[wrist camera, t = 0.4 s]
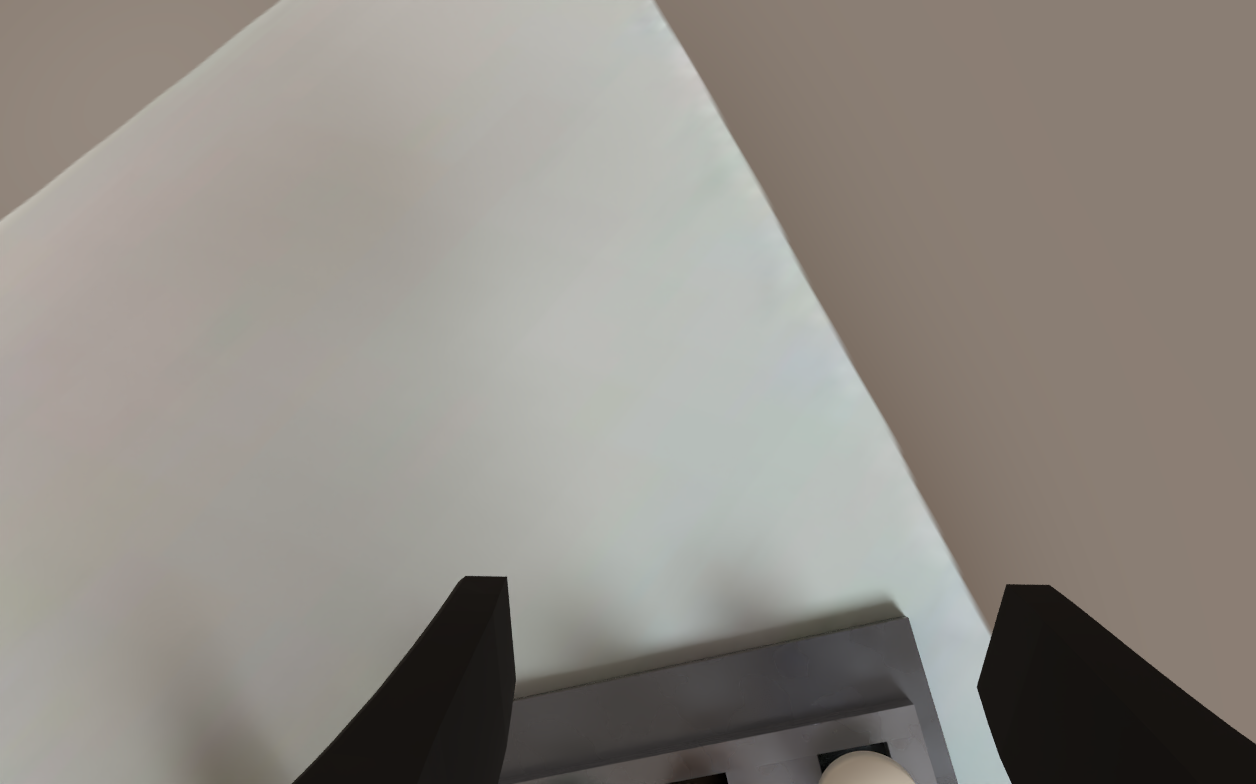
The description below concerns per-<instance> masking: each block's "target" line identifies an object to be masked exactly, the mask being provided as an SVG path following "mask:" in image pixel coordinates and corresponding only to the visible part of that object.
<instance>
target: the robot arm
mask: <svg viewBox="0 0 1256 784" xmlns="http://www.w3.org/2000/svg"><path fill="white" fill-rule="evenodd" d="M515 682H516V675H515V663H514V652H513V640H512V629H511V617H510V606H509V595H508V583H507V577H492V576H465V577H464V578H463V579H461V580H460V581H459V582H458V583H457V585H456V586H455V588H454V589H453V591H452V592H451V594H450V595H449V597H448V598H447V600H446V601H445V603H444V604H443V605H442V607H441V608H440V610H439V611H438V613H437V614H436V615H435V617H434V618H433V619H432V621H431V622H430V624H429V625H428V626H427V628H426V629H425V630H424V632H423V633H422V634H421V636H420V637H419V638H418V640H417V641H416V642H415V644H414V645H413V646H412V648H411V649H410V650H409V652H408V653H407V654H406V655H405V657H404V658H403V659H402V660H401V662H400V663H399V664H398V665H397V667H396V668H395V669H394V670H393V672H392V673H391V674H390V675H389V677H388V678H387V679H386V681H385V682H384V683H383V684H382V686H381V687H380V688H379V689H378V690H377V692H376V693H375V694H374V695H373V696H372V697H371V699H370V700H369V701H368V702H367V703H366V704H365V705H364V707H363V708H362V709H361V710H360V711H359V712H358V713H357V715H356V716H355V717H354V718H353V719H352V720H351V721H350V722H349V724H348V725H347V726H346V727H345V728H344V729H343V730H342V732H341V733H340V734H339V735H338V736H337V737H336V738H335V739H334V741H333V742H332V743H331V744H330V745H329V746H328V747H327V748H326V749H325V750H324V751H323V752H322V753H321V754H320V755H319V756H318V758H317V759H316V760H315V761H314V762H313V763H312V764H311V765H310V766H309V767H308V768H307V769H306V770H305V771H304V772H303V773H302V774H301V775H300V776H299V777H298V778H297V779H296V780H295V781H294V782H293V783H292V784H498V782H499V778H500V774H501V769H502V765H503V761H504V757H505V753H506V748H507V742H508V735H509V728H510V721H511V713H512V705H513V698H514V690H515ZM977 689H978V692H979V696H980V699H981V702H982V705H983V708H984V712H985V715H986V718H987V721H988V724H989V727H990V730H991V733H992V736H993V739H994V742H995V745H996V748H997V751H998V753H999V756H1000V759H1001V761H1002V763H1003V765H1004V767H1005V770H1006V772H1007V774H1008V776H1009V778H1010V781H1011V783H1012V784H1256V744H1255V743H1253V742H1252V741H1250V740H1249V739H1248V738H1246V737H1245V736H1244V735H1242V734H1241V733H1239V732H1238V731H1237V730H1235V729H1234V728H1232V727H1231V726H1230V725H1228V724H1227V723H1226V722H1224V721H1223V720H1222V719H1220V718H1219V717H1218V716H1216V715H1215V714H1214V713H1212V712H1211V711H1210V710H1208V709H1207V708H1206V707H1204V706H1203V705H1202V704H1200V703H1199V702H1198V701H1196V700H1195V699H1194V698H1193V697H1191V696H1190V695H1189V694H1187V693H1186V692H1185V691H1183V690H1182V689H1181V688H1180V687H1178V686H1177V685H1176V684H1175V683H1173V682H1172V681H1171V680H1169V679H1168V678H1167V677H1166V676H1164V675H1163V674H1162V673H1160V672H1159V671H1158V670H1157V669H1155V668H1154V667H1153V666H1152V665H1150V664H1149V663H1148V662H1146V661H1145V660H1144V659H1143V658H1141V657H1140V656H1139V655H1138V654H1136V653H1135V652H1134V651H1133V650H1132V649H1130V648H1129V647H1128V646H1126V645H1125V644H1124V643H1123V642H1122V641H1120V640H1119V639H1118V638H1117V637H1115V636H1114V635H1113V634H1112V633H1110V632H1109V631H1108V630H1107V629H1105V628H1104V627H1103V626H1102V625H1100V624H1099V623H1098V622H1097V621H1095V620H1094V619H1093V618H1092V617H1090V616H1089V615H1088V614H1087V613H1085V612H1084V611H1083V610H1082V609H1080V608H1079V607H1078V606H1076V605H1075V604H1074V603H1073V602H1071V601H1070V600H1069V599H1067V598H1066V597H1065V596H1064V595H1062V594H1061V593H1059V592H1058V591H1057V590H1055V589H1054V588H1053V587H1051V586H1050V585H1015V584H1013V585H1010V584H1007V585H1006V588H1005V591H1004V595H1003V598H1002V602H1001V605H1000V608H999V612H998V615H997V619H996V622H995V626H994V629H993V633H992V636H991V640H990V643H989V647H988V650H987V653H986V657H985V660H984V664H983V667H982V671H981V674H980V678H979V681H978V685H977Z"/></svg>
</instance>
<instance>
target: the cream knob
mask: <svg viewBox="0 0 1256 784" xmlns="http://www.w3.org/2000/svg"><path fill="white" fill-rule="evenodd" d="M818 784H916V783H915V782H914V780H913V779H912V777H911V776H910V774H909V773H908V772H907V771H906V770H905V769H904V768H903V767H902V766H901V765H900V764H899V763H897V762H896V761H895V760H893V759H891V758H889V757H888V756H885V755H883V754H880V753H877V752H872V751H854V752H850V753H847V754H845V755H842V756H840V757H839V758H837V759H836V760H834V761H833V762H832V763H831V764H829V766H828V767H827V768H826V770H825V771H824V772H823V774H822V776H821V778H820V780H819V783H818Z"/></svg>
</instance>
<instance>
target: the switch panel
mask: <svg viewBox="0 0 1256 784" xmlns="http://www.w3.org/2000/svg"><path fill="white" fill-rule="evenodd" d="M881 742H884V746H885V749H886V753H887V756H888V757H889V758H891V759H893V760H895V761H896V762H897V763H899V764H900V765H901V766H902V767H903V768H904V769H905V770H906V771H907V772H908V773H909V774H910V776H911V777H912V779H913V780H914V782H915V783H916V784H958V782H957V779H956V776H955V772H954V769H953V766H952V762H951V759H950V756H949V752H948V749H947V745H946V742H945V739H944V735H943V732H942V729H941V725H940V722H939V719H938V715H937V712H936V709H935V705H934V702H933V699H932V695H931V692H930V689H929V685H928V682H927V679H926V675H925V672H924V669H923V665H922V662H921V659H920V655H919V652H918V649H917V645H916V642H915V638H914V635H913V632H912V628H911V625H910V622H909V618H908V617H906V616H903V617H898V618H893V619H889V620H884V621H879V622H874V623H870V624H865V625H860V626H856V627H851V628H846V629H842V630H837V631H832V632H828V633H823V634H818V635H814V636H809V637H804V638H799V639H795V640H790V641H785V642H781V643H776V644H771V645H767V646H762V647H757V648H753V649H748V650H743V651H739V652H734V653H729V654H725V655H720V656H715V657H710V658H706V659H701V660H696V661H692V662H687V663H682V664H678V665H673V666H668V667H664V668H659V669H654V670H650V671H645V672H640V673H636V674H631V675H626V676H621V677H617V678H612V679H607V680H603V681H598V682H593V683H589V684H584V685H579V686H575V687H570V688H565V689H561V690H556V691H551V692H546V693H542V694H537V695H532V696H528V697H523V698H518V699H514V700H513V705H512V713H511V721H510V728H509V735H508V742H507V748H506V753H505V757H504V761H503V765H502V769H501V774H500V778H499V782H498V784H671V783H672V782H678V781H683V780H688V779H693V778H698V777H704V776H709V775H714V774H719V773H724V772H726V776H727V780H728V784H818V783H819V780H820V778H821V776H822V774H823V772H822V768H821V765H820V761H819V757H818V754H823V753H829V752H834V751H839V750H844V749H849V748H855V747H860V746H865V745H870V744H875V743H881Z"/></svg>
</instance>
